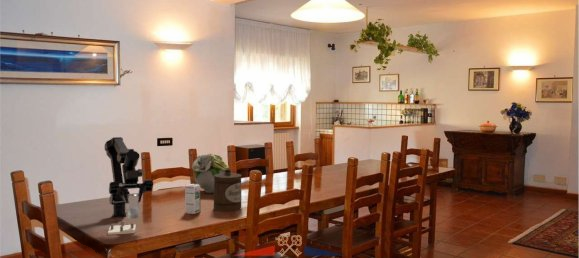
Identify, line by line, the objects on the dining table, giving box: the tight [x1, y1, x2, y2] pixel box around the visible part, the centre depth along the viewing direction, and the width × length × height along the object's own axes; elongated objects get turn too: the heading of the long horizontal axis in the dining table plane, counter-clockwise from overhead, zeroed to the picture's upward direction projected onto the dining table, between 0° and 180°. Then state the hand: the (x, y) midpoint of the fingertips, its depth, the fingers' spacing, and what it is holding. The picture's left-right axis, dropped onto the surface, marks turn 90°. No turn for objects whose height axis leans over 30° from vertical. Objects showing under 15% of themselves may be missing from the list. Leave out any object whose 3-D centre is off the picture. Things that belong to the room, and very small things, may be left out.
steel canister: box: [126, 193, 140, 219], centre depth 210 cm, size 5×5×10 cm
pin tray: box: [107, 220, 137, 236], centre depth 209 cm, size 11×11×3 cm
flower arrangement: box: [191, 153, 230, 194], centre depth 299 cm, size 25×25×24 cm
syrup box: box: [184, 183, 202, 215], centre depth 244 cm, size 6×6×14 cm
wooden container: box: [213, 167, 242, 212], centre depth 255 cm, size 15×15×22 cm
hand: (133, 202), depth 209 cm, fingers closed on steel canister, 5 cm apart
